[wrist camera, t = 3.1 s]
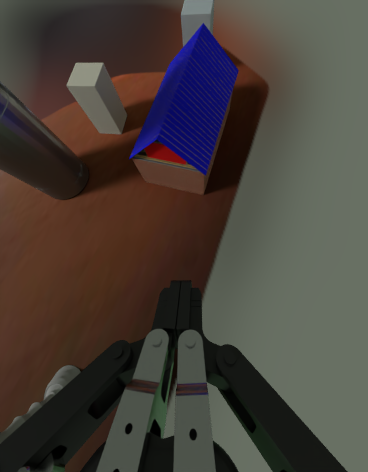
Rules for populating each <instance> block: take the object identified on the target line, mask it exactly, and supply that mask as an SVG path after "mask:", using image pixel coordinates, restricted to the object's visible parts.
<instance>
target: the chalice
mask: <svg viewBox="0 0 368 472" xmlns="http://www.w3.org/2000/svg"><path fill="white" fill-rule="evenodd" d="M79 373H80V370H79V369H78V368H76V367H75V366H71V365H68V366H64V367H63V368H61V369H60V370H59V371H58V372H57V373H56V374H55V376H54V378H53V379H52V380H51V382H50V383H49V384H48V386H47V388H46V391H45V394H44V400H43V401H41V402H39V403H38V402H35V403H33V404H32V405H31V406H30V409H29V411H28V412H27V414H25V415H23V416H18V417H16V418H15V419H14V420H13V422H12V424H11V425H10V426H9V427H8V428H7V429H6V430H5V431H4V432H2V433H1V432H0V443H2V442H3V441H4V440H5V439H6V438H7V437H8V436H9V435H11V434H12V433H13V432H14V431H15V430H16V429H17V428H18V427H20V426H21V425H22V424H23V423H24V422H25V421H26V420H27V419H29V418H30V417H31V416H32V415H33V414H34V413H35V412H36V411H38V410H39V409H40V408H41V407H42V406H43V405H44V404H46V403H47V402H48V401H49V400H50V399H51V398H52V397H53V396H55V395H56V394H57V393H58V392H59V391H60V390H61V389H62V388H64V387H65V386H66V385H67V384H68V383H69V382H70V381H71V380H73V379H74V378H75V377H76V376H77V375H78V374H79Z"/></svg>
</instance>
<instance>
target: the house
mask: <svg viewBox="0 0 368 472" xmlns="http://www.w3.org/2000/svg"><path fill="white" fill-rule="evenodd" d="M237 74H238V69H237V68H236V66H235V65H234V64H233V62H232V61H231V60H230V58H229V57H228V56H227V54H226V53H225V51H224V50H223V49H222V47H221V46H220V45H219V43H218V42H217V41H216V39H215V38H214V37H213V35H212V34H211V32H210V31H209V30H208V28H207V27H206V26H205V24H204V23H203V24H202V25H201V26H200V28H199V29H198V30H197V31H196V32H195V34H194V35H193V36H192V37H191V39H190V40H189V41H188V42H187V43H186V45H185V46H184V47H183V48H182V50H181V51H180V52H179V53H178V54H177V56H176V57H175V58H174V59H173V61H172V62H171V63H170V65H169V67H168V69H167V72H166V74H165V76H164V79H163V81H162V83H161V86H160V88H159V90H158V93H157V95H156V97H155V100H154V102H153V104H152V107H151V109H150V111H149V114H148V116H147V118H146V121H145V123H144V125H143V128H142V130H141V132H140V135H139V137H138V139H137V142H136V144H135V146H134V149H133V151H132V153H131V155H130V158H132V160H133V162H134V163H135V165H136V167H137V168H138V170H139V172H140V173H141V175H142V177H143V179H144V180H145V182H148V183H153V184H157V185H161V186H166V187H170V188H174V189H179V190H183V191H187V192H192V193H196V194H200V195H204V192H205V189H206V185H207V182H208V179H209V175H210V172H211V169H212V166H213V162H214V159H215V156H216V153H217V149H218V146H219V143H220V139H221V136H222V133H223V130H224V126H225V123H226V120H227V117H228V113H229V110H230V104H231V98H232V92H233V88H234V84H235V80H236V77H237ZM163 144H164V145H163ZM130 158H129V159H130ZM159 160H161V161H159ZM164 161H166V162H164ZM169 162H171V163H169ZM174 163H176V164H174ZM188 163H189V164H191V165H188ZM179 164H181V165H179ZM183 165H185V166H183ZM188 166H190V167H188ZM193 167H195V168H193Z"/></svg>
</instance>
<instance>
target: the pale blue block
mask: <svg viewBox="0 0 368 472" xmlns="http://www.w3.org/2000/svg"><path fill="white" fill-rule="evenodd" d="M213 15H214V0H185V1H184V5H183V9H182V13H181V23H182V36H183V47H184V46H185V45H186V43H187V42H188V41H189V40H190V39H191V37H192V36H193V35H194V34H195V32H196V31H197V30H198V29H199V28H200V26H201V25H202V24H203V23H204V24H205V26H206V27H207V28H208V30H209V31H210V32H211V34H212V35H213Z"/></svg>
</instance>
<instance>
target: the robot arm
mask: <svg viewBox="0 0 368 472" xmlns="http://www.w3.org/2000/svg"><path fill="white" fill-rule="evenodd" d="M0 169H1V170H3V171H4V172H6V173H8V174H10V175H12V176H14V177H16V178H18V179H19V180H21V181H23V182H25V183H27V184H29V185H31V186H32V187H34V188H36V189H38V190H40V191H42V192H44V193H45V194H47V195H49V196H51V197H53V198H55V199H60V200H63V199H69V198H72V197H74V196H75V195H77V194H78V193H80V192H81V191H82V189H83V188H84V187H85V185H86V183H87V181H88V177H89V172H88V168H87V166H86V164H85V163H84V162H83V161H82V160H81V159H79V158H78V157H77V156H76V155H75V154H74V153H73V152H72V151H71V150H70V149H69V148H68V147H67V146H66V145H65V144H64V143H63V142H62V141H61V140H60V139H59V138H58V137H57V136H56V135H55V134H54V133H53V132H52V131H51V130H50V129H49V128H48V127H47V126H46V125H45V124H44V123H43V122H42V121H41V120H40V119H38V118H37V117H36V116H35V115H34V114H33V113H32V112H31V111H30V110H29V109H28V108H27V107H26V106H25V105H24V104H23V103H22V102H21V101H20V100H19V99H18V98H17V97H16V96H15V95H14V94H13V93H12V92H11V91H10V90H9V89H8V88H7V87H6V86H4V85H3V84H2V83H1V82H0ZM175 349H178V370H177V389H176V398H175V399H176V400H175V432H174V436H171V437H168V438H164V439H163V436H164V430H165V423H166V415H167V400H168V394H169V388H170V382H171V376H172V370H173V364H174V352H175ZM206 382H208V383H210V384H212V385H214V386H216V387H217V388H218V390H219V391H220V393H221V394H222V395H223V397H224V399H225V400H226V402H227V403H228V405H229V406H230V408H231V409H232V411H233V412H234V414H235V415H236V417H237V418H238V420H239V421H240V423H241V424H242V426H243V427H244V429H245V430H246V432H247V434H248V435H249V437H250V438H251V439H252V441H253V442H254V444H255V445H256V447H257V448H258V450H259V452H260V453H261V455H262V456H263V458H264V459H265V461H266V462H267V464H268V465H269V467H270V468H271V470H272V471H273V472H347V471H346V470H345V468H344V467H343V466H342V465H341V464H340V463H339V462H338V461H337V460H336V458H335V457H334V456H333V455H332V454H331V453H330V452H329V451H328V449H326V447H325V446H324V445H323V444H322V443H321V442H320V441H319V439H318V438H317V437H316V436H315V435H314V434H313V433H312V432H311V430H309V428H308V427H307V426H306V425H305V424H304V423H303V422H302V420H301V419H300V418H299V417H298V416H297V415H296V414H295V412H294V411H293V410H292V409H291V408H290V407H289V406H288V405H287V404H286V402H285V401H284V400H283V399H282V398H281V397H280V396H279V395H278V393H277V392H276V391H275V390H274V389H273V388H272V387H271V386H270V384H269V383H268V382H267V381H266V380H265V379H264V378H263V377H262V376H261V374H260V373H259V372H258V371H257V370H256V369H255V368H254V367H253V365H252V364H251V363H250V362H249V361H248V360H247V359H246V358H245V356H244V355H242V353H241V352H240V351H239V350H238V349H237V348H236V347H234V346H232V345H228V344H227V345H223V346H219V345H217V344H214V343H212V342H210V341H209V340H208V339H207V338H206V337H205V336H204V334H203V330H202V300H201V292H200V290H199V288H192V283H191V280H182V281H171V284H170V288H164V289H163V290H162V292H161V293H160V297H159V301H158V305H157V309H156V314H155V318H154V322H153V326H152V330H151V332H150V333H149V334H148V335H147V336H146V337H145V338H144V339H142V340H140V341H137V342H134V343H131V344H129V343H128V342H127V341H125V340H119V341H117V342H115V343H113V344H112V345H111V346H110V347H109V348H107V349H106V350H105V351H104V352H103V353H102V354H101V355H100V356H98V357H97V358H96V359H95V360H94V361H93V362H92V363H91V364H89V365H88V366H87V367H86V368H85V369H84V370H83V371H82V372H80V373H79V374H78V375H77V376H76V377H75V378H74V379H73V380H71V381H70V382H69V383H68V384H67V385H66V386H65V387H64V388H62V389H61V390H60V391H59V392H58V393H57V394H56V395H55V396H53V397H52V398H51V399H50V400H49V401H48V402H47V403H46V404H44V405H43V406H42V407H41V408H40V409H39V410H38V411H36V412H35V413H34V414H33V415H32V416H31V417H30V418H29V419H27V420H26V421H25V422H24V423H23V424H22V425H21V426H20V427H18V428H17V429H16V430H15V431H14V432H13V433H12V434H11V435H9V436H8V437H7V438H6V439H5V440H4V441H3V442H2V443H0V472H65V465H66V464H67V463H68V461H69V460H70V459H71V458H72V457H73V456H74V455H75V453H76V452H77V451H78V450H79V449H80V448H81V446H82V445H83V444H84V443H85V442H86V441H87V440H88V438H89V437H90V436H91V435H92V434H93V433H94V431H95V430H96V429H97V428H98V427H99V426H100V425H101V423H102V422H103V421H104V420H105V419H106V418H107V416H108V415H109V414H110V413H111V412H112V411H113V410H114V408H115V407H116V406H117V405H118V404H119V403H120V404H119V406H118V409H117V412H116V415H115V418H114V421H113V424H112V427H111V430H110V433H109V436H108V439H107V440H106V441H105V442H104V443H103V444H102V445H101V446H100V447H99V448H98V449H97V450H96V452H95V453H94V454H93V455H92V457H91V458H90V459H89V461H88V462H87V463H86V464H85V466H84V467H83V468H82V470H81V471H80V472H238V470H237V468H236V466H235V464H234V463H233V461H232V460H231V458H230V457H229V455H228V454H227V453H226V452H225V451H224V449H222V448H221V447H220V446H219V445H218V444H217V443H215V442H214V441H213V438H212V429H211V418H210V408H209V399H208V389H207V383H206Z"/></svg>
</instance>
